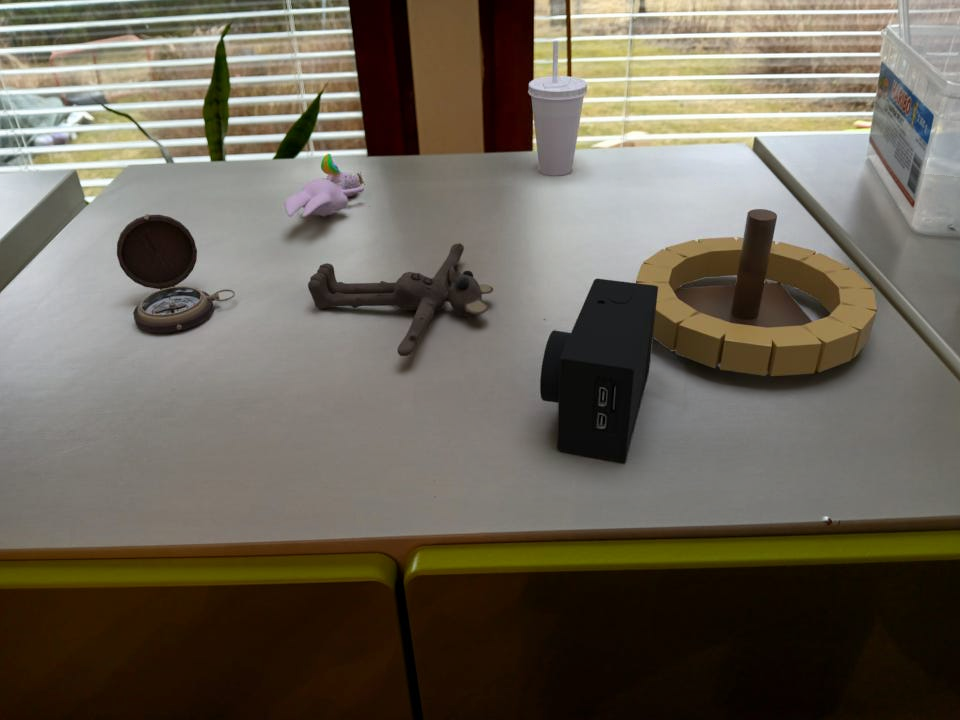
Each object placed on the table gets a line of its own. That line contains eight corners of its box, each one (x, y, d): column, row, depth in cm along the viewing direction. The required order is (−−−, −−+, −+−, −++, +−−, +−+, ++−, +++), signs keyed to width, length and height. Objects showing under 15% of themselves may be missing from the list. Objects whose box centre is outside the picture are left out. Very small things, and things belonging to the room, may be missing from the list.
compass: (140, 343, 61) (113, 258, 57) (131, 299, 67) (106, 219, 63) (244, 318, 64) (226, 235, 60) (226, 278, 70) (208, 200, 66)
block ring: (808, 257, 67) (814, 231, 66) (914, 366, 53) (924, 336, 52) (613, 269, 67) (615, 243, 65) (669, 383, 53) (673, 353, 51)
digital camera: (573, 360, 57) (577, 273, 54) (649, 371, 56) (658, 283, 52) (537, 448, 49) (539, 353, 45) (625, 464, 48) (634, 368, 44)
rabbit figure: (325, 197, 89) (267, 231, 75) (321, 143, 86) (260, 168, 73) (379, 200, 88) (329, 235, 74) (376, 145, 85) (324, 171, 72)
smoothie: (516, 172, 90) (515, 42, 82) (549, 156, 94) (552, 31, 86) (562, 184, 87) (566, 49, 79) (594, 167, 91) (601, 38, 83)
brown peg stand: (777, 295, 65) (799, 187, 60) (825, 354, 57) (854, 237, 52) (668, 301, 64) (681, 193, 59) (702, 362, 57) (720, 245, 52)
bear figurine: (349, 223, 72) (507, 217, 68) (359, 266, 74) (512, 262, 70) (266, 324, 57) (461, 323, 54) (281, 374, 59) (470, 375, 56)
